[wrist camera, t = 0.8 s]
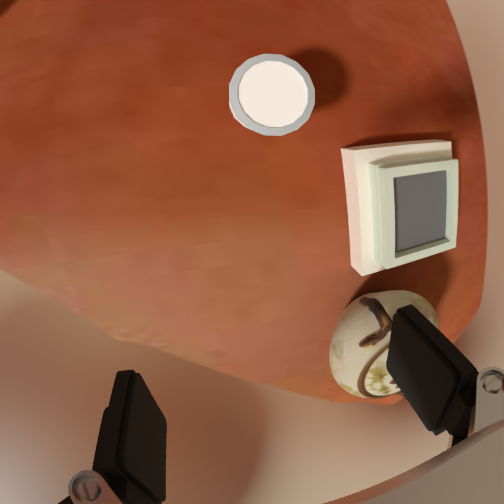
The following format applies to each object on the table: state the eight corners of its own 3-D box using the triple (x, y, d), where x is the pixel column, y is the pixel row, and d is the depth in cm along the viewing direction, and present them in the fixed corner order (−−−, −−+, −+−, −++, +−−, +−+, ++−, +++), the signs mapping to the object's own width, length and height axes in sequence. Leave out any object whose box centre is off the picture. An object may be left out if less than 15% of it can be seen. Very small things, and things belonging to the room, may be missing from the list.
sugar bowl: (418, 331, 43) (471, 390, 29) (341, 382, 44) (379, 455, 30) (388, 233, 35) (471, 290, 21) (287, 299, 36) (331, 390, 22)
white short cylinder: (216, 76, 26) (220, 60, 19) (284, 66, 26) (306, 49, 20) (230, 142, 29) (238, 143, 22) (297, 129, 29) (322, 129, 23)
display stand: (341, 148, 30) (367, 152, 25) (435, 139, 31) (466, 144, 26) (351, 265, 36) (373, 287, 31) (436, 240, 37) (462, 256, 32)
